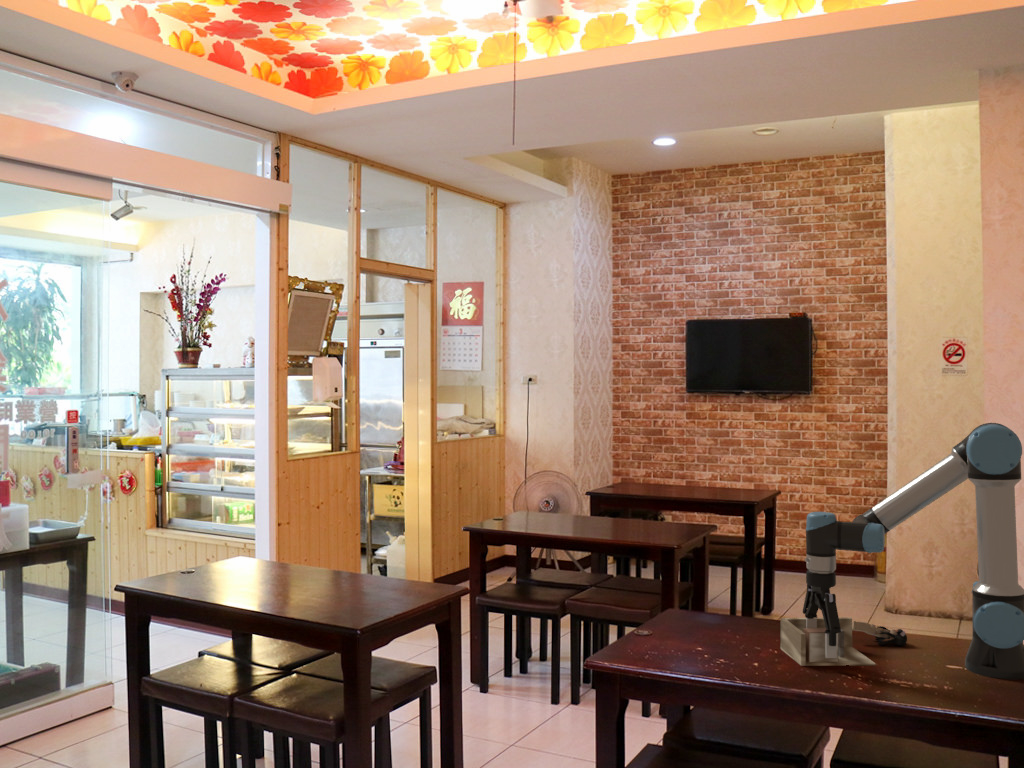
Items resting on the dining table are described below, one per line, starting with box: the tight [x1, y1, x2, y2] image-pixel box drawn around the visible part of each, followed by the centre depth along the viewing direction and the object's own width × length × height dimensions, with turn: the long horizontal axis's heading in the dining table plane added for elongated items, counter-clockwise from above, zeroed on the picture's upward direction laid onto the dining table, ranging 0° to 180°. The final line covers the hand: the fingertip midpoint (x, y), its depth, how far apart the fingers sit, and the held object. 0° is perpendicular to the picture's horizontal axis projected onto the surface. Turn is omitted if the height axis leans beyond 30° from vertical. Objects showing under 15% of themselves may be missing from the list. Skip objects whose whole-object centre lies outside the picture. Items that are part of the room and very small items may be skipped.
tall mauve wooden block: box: [803, 628, 838, 663], centre depth 241 cm, size 8×4×8 cm, turn 92°
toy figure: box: [852, 620, 908, 647], centre depth 260 cm, size 7×6×15 cm
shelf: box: [779, 616, 877, 667], centre depth 246 cm, size 20×16×9 cm
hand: (821, 650), depth 241 cm, fingers open, 13 cm apart
